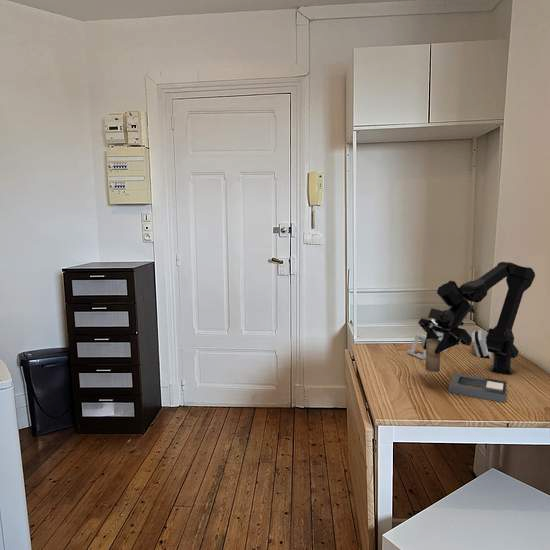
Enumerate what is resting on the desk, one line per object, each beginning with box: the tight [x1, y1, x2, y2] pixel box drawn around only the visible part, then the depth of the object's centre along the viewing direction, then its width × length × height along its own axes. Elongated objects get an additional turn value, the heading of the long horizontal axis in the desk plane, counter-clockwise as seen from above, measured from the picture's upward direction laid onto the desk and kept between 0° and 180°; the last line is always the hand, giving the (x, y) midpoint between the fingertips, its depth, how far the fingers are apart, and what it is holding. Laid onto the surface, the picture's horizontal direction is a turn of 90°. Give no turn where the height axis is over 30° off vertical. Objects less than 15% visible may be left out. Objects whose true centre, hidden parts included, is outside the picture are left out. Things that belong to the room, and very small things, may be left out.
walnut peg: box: [424, 339, 441, 373], centre depth 138 cm, size 4×4×10 cm
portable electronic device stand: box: [406, 332, 427, 361], centre depth 170 cm, size 9×8×8 cm
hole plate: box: [448, 372, 507, 403], centre depth 135 cm, size 12×16×3 cm
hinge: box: [471, 329, 493, 359], centre depth 174 cm, size 17×5×10 cm, turn 151°
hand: (429, 351), depth 137 cm, fingers closed on walnut peg, 4 cm apart
